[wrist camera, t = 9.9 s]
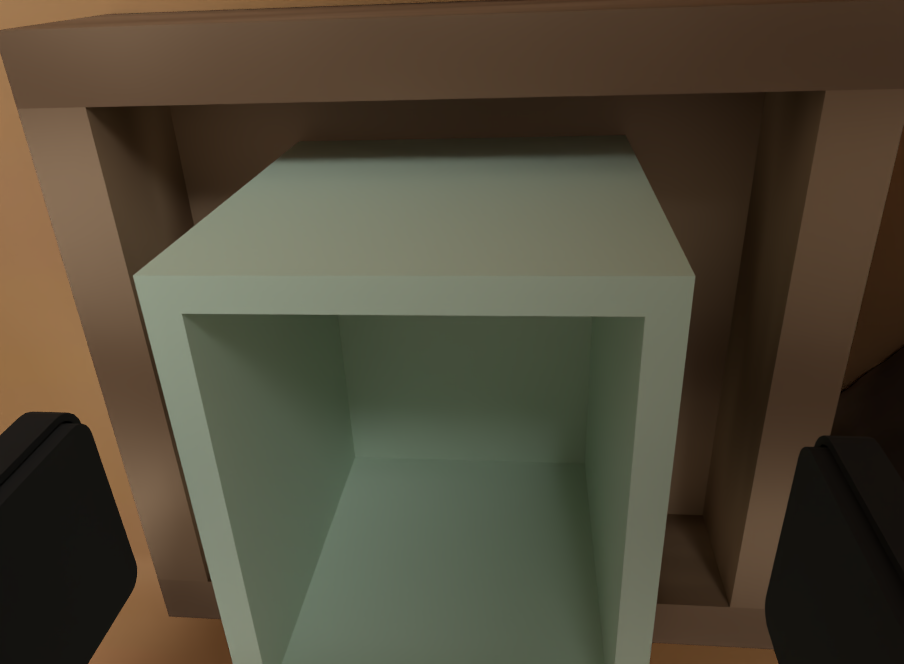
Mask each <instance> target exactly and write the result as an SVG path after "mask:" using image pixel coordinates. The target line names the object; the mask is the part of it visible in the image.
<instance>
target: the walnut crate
mask: <svg viewBox="0 0 904 664" xmlns="http://www.w3.org/2000/svg"><path fill="white" fill-rule="evenodd" d="M0 53H1V56H2V60H3V63H4V66H5V70H6V73H7V76H8V80H9V83H10V86H11V90H12V93H13V96H14V100H15V103H16V106H17V110H18V113H19V116H20V120H21V123H22V126H23V130H24V133H25V136H26V140H27V143H28V146H29V150H30V153H31V156H32V160H33V163H34V166H35V170H36V173H37V177H38V180H39V183H40V187H41V190H42V193H43V197H44V200H45V203H46V207H47V210H48V213H49V217H50V220H51V223H52V227H53V230H54V233H55V237H56V240H57V243H58V247H59V250H60V253H61V257H62V260H63V263H64V267H65V270H66V273H67V277H68V280H69V283H70V287H71V290H72V293H73V297H74V300H75V304H76V307H77V310H78V314H79V317H80V320H81V324H82V327H83V330H84V334H85V337H86V340H87V344H88V347H89V350H90V354H91V357H92V360H93V364H94V367H95V370H96V374H97V377H98V380H99V384H100V387H101V390H102V394H103V397H104V400H105V404H106V407H107V410H108V414H109V417H110V420H111V424H112V427H113V430H114V434H115V437H116V441H117V444H118V447H119V451H120V454H121V457H122V461H123V464H124V467H125V471H126V474H127V477H128V481H129V484H130V487H131V491H132V494H133V497H134V501H135V504H136V507H137V511H138V514H139V517H140V521H141V524H142V527H143V531H144V534H145V537H146V541H147V544H148V547H149V551H150V554H151V557H152V561H153V564H154V567H155V571H156V574H157V578H158V581H159V584H160V588H161V591H162V594H163V598H164V601H165V604H166V608H167V611H168V614H169V616H172V617H190V618H208V619H221V616H220V612H219V608H218V604H217V600H216V596H215V593H214V589H213V585H212V581H211V577H210V573H209V569H208V565H207V562H206V558H205V554H204V550H203V546H202V542H201V538H200V534H199V530H198V527H197V523H196V519H195V515H194V511H193V507H192V503H191V499H190V496H189V492H188V488H187V484H186V480H185V476H184V472H183V468H182V465H181V461H180V457H179V453H178V449H177V445H176V441H175V437H174V433H173V430H172V426H171V422H170V418H169V414H168V410H167V406H166V402H165V399H164V395H163V391H162V387H161V383H160V379H159V375H158V371H157V367H156V364H155V360H154V356H153V352H152V348H151V344H150V340H149V336H148V333H147V329H146V325H145V321H144V317H143V313H142V309H141V305H140V302H139V298H138V294H137V290H136V286H135V282H134V278H133V275H134V274H135V273H137V272H138V271H139V270H140V269H142V268H143V267H144V266H145V265H147V264H148V263H149V262H150V261H152V260H153V259H154V258H155V257H156V256H158V255H159V254H160V253H161V252H163V251H164V250H165V249H166V248H168V247H169V246H170V245H171V244H173V243H174V242H175V241H176V240H178V239H179V238H180V237H181V236H183V235H184V234H185V233H186V232H187V231H189V230H190V229H191V228H192V227H194V226H195V225H196V224H197V223H199V222H200V221H201V220H202V219H204V218H205V217H206V216H207V215H209V214H210V213H211V212H212V211H213V210H215V209H216V208H217V207H218V206H220V205H221V204H222V203H223V202H225V201H226V200H227V199H228V198H230V197H231V196H232V195H233V194H235V193H236V192H237V191H238V190H239V189H241V188H242V187H243V186H244V185H246V184H247V183H248V182H249V181H251V180H252V179H253V178H254V177H256V176H257V175H258V174H259V173H261V172H262V171H263V170H264V169H266V168H267V167H268V166H269V165H270V164H272V163H273V162H274V161H275V160H277V159H278V158H279V157H280V156H282V155H283V154H284V153H285V152H287V151H288V150H289V149H290V148H292V147H293V146H294V145H295V144H296V143H298V142H299V141H345V140H397V139H449V138H502V137H554V136H606V135H626V137H627V139H628V141H629V143H630V145H631V147H632V149H633V151H634V153H635V155H636V157H637V159H638V161H639V163H640V165H641V167H642V169H643V171H644V173H645V175H646V177H647V179H648V181H649V184H650V186H651V188H652V190H653V192H654V194H655V196H656V198H657V200H658V202H659V204H660V206H661V208H662V210H663V212H664V214H665V216H666V218H667V220H668V222H669V224H670V226H671V228H672V230H673V232H674V234H675V236H676V238H677V240H678V242H679V244H680V246H681V248H682V250H683V252H684V254H685V256H686V258H687V260H688V262H689V264H690V266H691V268H692V270H693V272H694V274H695V284H694V292H693V300H692V309H691V317H690V326H689V334H688V343H687V351H686V359H685V368H684V376H683V385H682V393H681V402H680V410H679V418H678V427H677V435H676V444H675V452H674V461H673V469H672V477H671V486H670V494H669V503H668V511H667V519H666V528H665V536H664V545H663V553H662V562H661V570H660V578H659V587H658V595H657V604H656V612H655V621H654V629H653V637H652V643H668V644H686V645H705V646H723V647H742V648H760V649H774V648H773V644H772V641H771V638H770V635H769V632H768V628H767V624H766V618H765V599H766V594H767V590H768V585H769V581H770V577H771V572H772V568H773V564H774V559H775V555H776V551H777V547H778V542H779V538H780V534H781V529H782V525H783V521H784V517H785V512H786V508H787V504H788V499H789V495H790V491H791V486H792V482H793V478H794V474H795V469H796V465H797V461H798V456H799V453H800V451H801V449H802V448H803V447H814V445H815V442H816V441H817V439H818V438H819V437H820V436H823V435H829V436H830V434H831V430H832V425H833V421H834V417H835V413H836V409H837V404H838V400H839V396H840V392H841V387H842V383H843V379H844V375H845V371H846V366H847V362H848V358H849V354H850V349H851V345H852V341H853V337H854V333H855V328H856V324H857V320H858V316H859V311H860V307H861V303H862V299H863V295H864V290H865V286H866V282H867V278H868V273H869V269H870V265H871V261H872V257H873V252H874V248H875V244H876V240H877V235H878V231H879V227H880V223H881V219H882V214H883V210H884V206H885V202H886V197H887V193H888V189H889V185H890V181H891V176H892V172H893V168H894V164H895V159H896V155H897V151H898V147H899V143H900V138H901V134H902V130H903V126H904V0H485V1H457V2H430V3H402V4H375V5H348V6H320V7H293V8H266V9H238V10H211V11H183V12H156V13H129V14H106V15H99V16H92V17H85V18H79V19H72V20H65V21H58V22H51V23H45V24H38V25H31V26H24V27H17V28H11V29H4V30H0Z"/></svg>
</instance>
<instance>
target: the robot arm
mask: <svg viewBox="0 0 904 664" xmlns="http://www.w3.org/2000/svg"><path fill="white" fill-rule="evenodd" d="M136 578H137V565H136V561H135V558H134V555H133V552H132V549H131V547H130V544H129V541H128V538H127V535H126V532H125V529H124V526H123V523H122V520H121V517H120V514H119V511H118V508H117V506H116V503H115V500H114V497H113V494H112V491H111V488H110V485H109V482H108V479H107V476H106V473H105V470H104V468H103V465H102V462H101V459H100V456H99V453H98V450H97V447H96V444H95V441H94V438H93V435H92V433H91V431H90V429H89V428H88V427H87V426H86V425H84V424H81V422H80V420H79V419H78V418H77V417H76V416H75V415H74V414H71V413H59V412H28V413H25V414H24V415H22V416H21V417H19V418H18V419H17V420H16V421H15V422H14V423H13V424H12V425H11V426H10V427H9V428H7V429H6V430H5V431H4V432H3V433H2V434H1V435H0V664H88V663H89V661H90V659H91V658H92V656H93V655H94V653H95V651H96V650H97V648H98V646H99V645H100V643H101V641H102V640H103V638H104V637H105V635H106V633H107V632H108V630H109V628H110V627H111V625H112V624H113V622H114V620H115V619H116V617H117V615H118V614H119V612H120V611H121V609H122V607H123V606H124V604H125V602H126V601H127V599H128V598H129V596H130V594H131V593H132V591H133V588H134V586H135V583H136ZM765 618H766V624H767V628H768V632H769V635H770V638H771V641H772V644H773V648H774V651H775V654H776V657H777V660H778V663H779V664H904V482H903V480H902V479H901V477H900V476H899V474H898V472H897V471H896V469H895V468H894V466H893V465H892V463H891V462H890V460H889V459H888V457H887V455H886V454H885V452H884V451H883V449H882V448H881V446H880V445H879V443H878V442H877V441H876V440H875V439H874V438H871V437H862V436H829V435H823V436H820V437H819V438H818V439H817V441H816V442H815V445H814V447H803V448H802V449H801V451H800V453H799V456H798V461H797V465H796V469H795V474H794V478H793V482H792V486H791V491H790V495H789V499H788V504H787V508H786V512H785V517H784V521H783V525H782V529H781V534H780V538H779V542H778V547H777V551H776V555H775V559H774V564H773V568H772V572H771V577H770V581H769V585H768V590H767V594H766V599H765Z"/></svg>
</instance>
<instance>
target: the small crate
mask: <svg viewBox="0 0 904 664" xmlns="http://www.w3.org/2000/svg"><path fill="white" fill-rule="evenodd" d="M133 278H134V282H135V286H136V290H137V294H138V298H139V302H140V305H141V309H142V313H143V317H144V321H145V325H146V329H147V333H148V336H149V340H150V344H151V348H152V352H153V356H154V360H155V364H156V367H157V371H158V375H159V379H160V383H161V387H162V391H163V395H164V399H165V402H166V406H167V410H168V414H169V418H170V422H171V426H172V430H173V433H174V437H175V441H176V445H177V449H178V453H179V457H180V461H181V465H182V468H183V472H184V476H185V480H186V484H187V488H188V492H189V496H190V499H191V503H192V507H193V511H194V515H195V519H196V523H197V527H198V530H199V534H200V538H201V542H202V546H203V550H204V554H205V558H206V562H207V565H208V569H209V573H210V577H211V581H212V585H213V589H214V593H215V596H216V600H217V604H218V608H219V612H220V616H221V620H222V624H223V627H224V631H225V635H226V639H227V643H228V647H229V651H230V655H231V659H232V662H233V664H649V663H650V654H651V646H652V637H653V629H654V621H655V612H656V604H657V595H658V587H659V578H660V570H661V562H662V553H663V545H664V536H665V528H666V519H667V511H668V503H669V494H670V486H671V477H672V469H673V461H674V452H675V444H676V435H677V427H678V418H679V410H680V402H681V393H682V385H683V376H684V368H685V359H686V351H687V343H688V334H689V326H690V317H691V309H692V300H693V292H694V284H695V274H694V272H693V270H692V268H691V266H690V264H689V262H688V260H687V258H686V256H685V254H684V252H683V250H682V248H681V246H680V244H679V242H678V240H677V238H676V236H675V234H674V232H673V230H672V228H671V226H670V224H669V222H668V220H667V218H666V216H665V214H664V212H663V210H662V208H661V206H660V204H659V202H658V200H657V198H656V196H655V194H654V192H653V190H652V188H651V186H650V184H649V181H648V179H647V177H646V175H645V173H644V171H643V169H642V167H641V165H640V163H639V161H638V159H637V157H636V155H635V153H634V151H633V149H632V147H631V145H630V143H629V141H628V139H627V137H626V135H606V136H554V137H502V138H449V139H397V140H345V141H299V142H298V143H296V144H295V145H294V146H293V147H292V148H290V149H289V150H288V151H287V152H285V153H284V154H283V155H282V156H280V157H279V158H278V159H277V160H275V161H274V162H273V163H272V164H270V165H269V166H268V167H267V168H266V169H264V170H263V171H262V172H261V173H259V174H258V175H257V176H256V177H254V178H253V179H252V180H251V181H249V182H248V183H247V184H246V185H244V186H243V187H242V188H241V189H239V190H238V191H237V192H236V193H235V194H233V195H232V196H231V197H230V198H228V199H227V200H226V201H225V202H223V203H222V204H221V205H220V206H218V207H217V208H216V209H215V210H213V211H212V212H211V213H210V214H209V215H207V216H206V217H205V218H204V219H202V220H201V221H200V222H199V223H197V224H196V225H195V226H194V227H192V228H191V229H190V230H189V231H187V232H186V233H185V234H184V235H183V236H181V237H180V238H179V239H178V240H176V241H175V242H174V243H173V244H171V245H170V246H169V247H168V248H166V249H165V250H164V251H163V252H161V253H160V254H159V255H158V256H156V257H155V258H154V259H153V260H152V261H150V262H149V263H148V264H147V265H145V266H144V267H143V268H142V269H140V270H139V271H138V272H137V273H135V274H134V275H133Z"/></svg>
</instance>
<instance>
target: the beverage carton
mask: <svg viewBox="0 0 904 664" xmlns="http://www.w3.org/2000/svg"><path fill="white" fill-rule="evenodd" d="M830 436H862V437H871V438H874V439H875V440H876V441H877V442H878V443H879V445H880V446H881V448H882V449H883V451H884V452H885V454H886V455H887V457H888V459H889V460H890V462H891V463H892V465H893V466H894V468H895V469H896V471H897V472H898V474H899V476H900V477H901V479H902V480H903V482H904V347H903V348H902V349H900V350H899V351H898V352H897V353H895V354H894V355H893V356H892V357H890V358H889V359H888V360H886V361H885V362H883V363H882V364H880V365H879V366H877V367H875V368H874V369H872V370H871V371H869V372H868V373H867V374H865V375H864V376H863V377H862V378H860V379H859V380H858V381H857V382H856V383H854V384H853V385H852V386H851V387H849V388H848V389H846V390H845V391H844V392H842V393H841V394H840V396H839V400H838V404H837V409H836V413H835V417H834V421H833V425H832V430H831V434H830Z"/></svg>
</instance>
